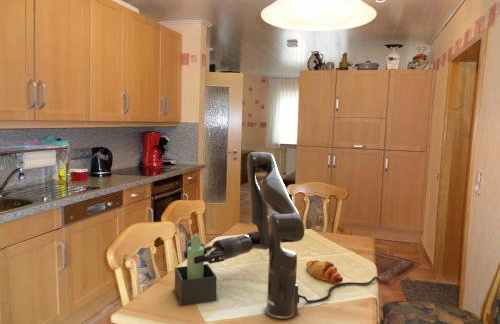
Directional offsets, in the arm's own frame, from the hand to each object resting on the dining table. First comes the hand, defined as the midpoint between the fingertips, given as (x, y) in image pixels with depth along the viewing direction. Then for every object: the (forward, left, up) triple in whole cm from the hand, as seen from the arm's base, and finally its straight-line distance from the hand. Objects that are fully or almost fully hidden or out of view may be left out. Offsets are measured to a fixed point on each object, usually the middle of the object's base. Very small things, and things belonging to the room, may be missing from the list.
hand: (189, 257), depth 136 cm
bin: (-2, -1, -14) cm, 14 cm away
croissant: (-56, -2, -14) cm, 58 cm away
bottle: (-2, -1, -8) cm, 8 cm away
